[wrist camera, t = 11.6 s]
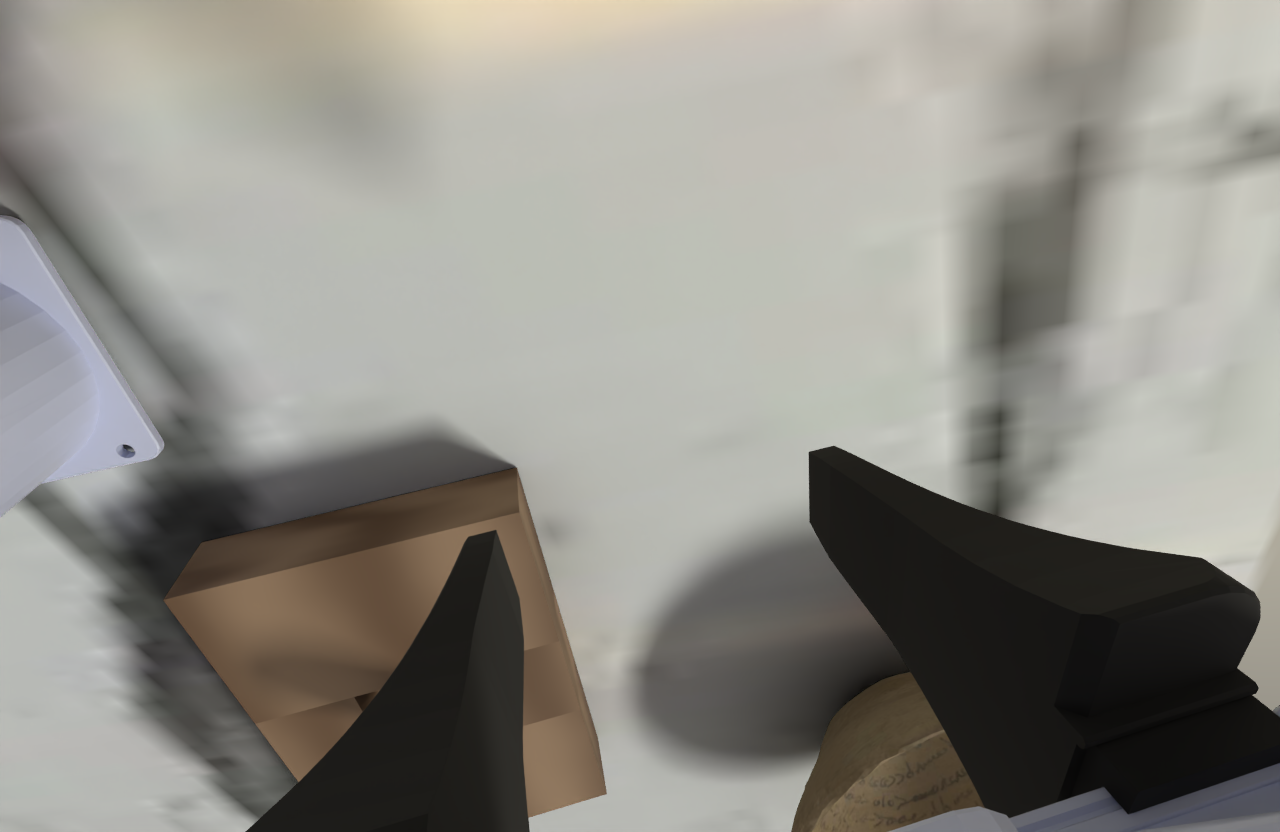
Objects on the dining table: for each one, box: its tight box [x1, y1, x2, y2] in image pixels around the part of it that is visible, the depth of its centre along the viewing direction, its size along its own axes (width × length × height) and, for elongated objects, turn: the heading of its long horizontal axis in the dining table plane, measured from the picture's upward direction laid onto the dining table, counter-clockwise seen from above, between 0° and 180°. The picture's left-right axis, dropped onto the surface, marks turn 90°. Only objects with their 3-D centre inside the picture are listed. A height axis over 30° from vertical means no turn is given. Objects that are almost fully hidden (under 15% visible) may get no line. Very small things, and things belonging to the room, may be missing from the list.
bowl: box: [791, 672, 985, 832], centre depth 33 cm, size 18×18×8 cm
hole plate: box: [163, 468, 607, 818], centre depth 27 cm, size 12×18×3 cm, turn 9°
